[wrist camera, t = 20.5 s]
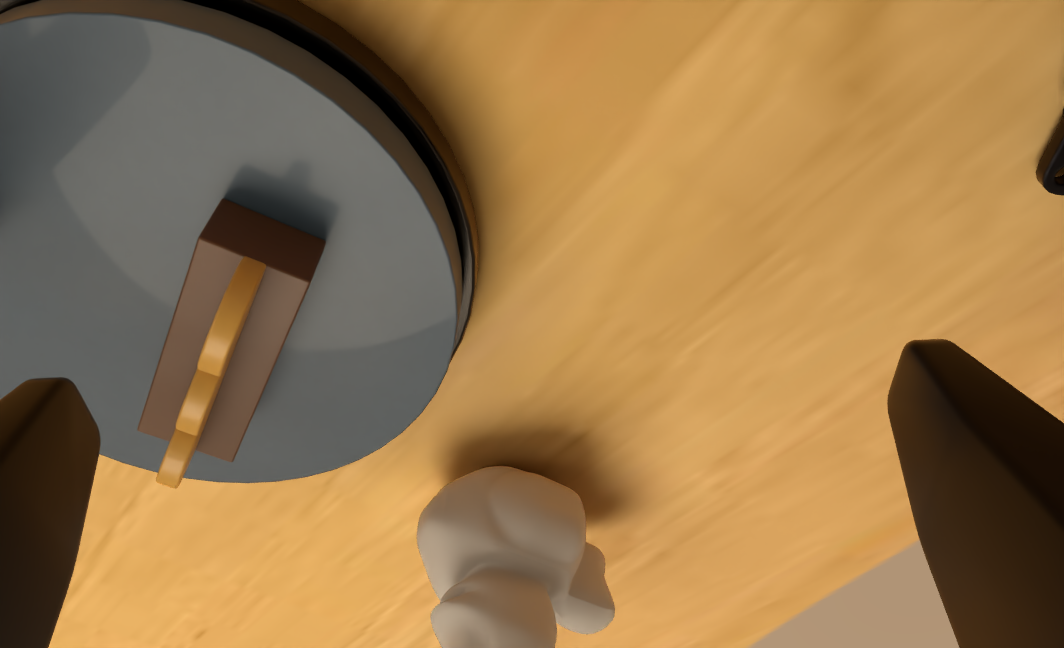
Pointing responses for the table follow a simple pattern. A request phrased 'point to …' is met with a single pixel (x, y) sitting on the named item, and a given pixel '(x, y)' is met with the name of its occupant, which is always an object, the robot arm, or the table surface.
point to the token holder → (214, 242)
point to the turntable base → (280, 12)
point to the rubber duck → (511, 562)
